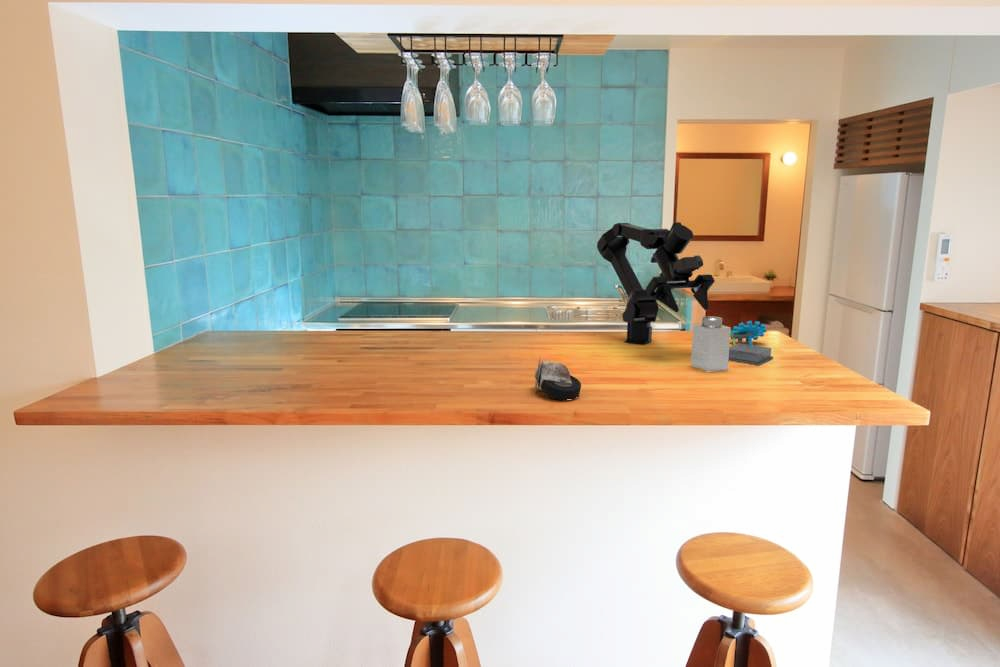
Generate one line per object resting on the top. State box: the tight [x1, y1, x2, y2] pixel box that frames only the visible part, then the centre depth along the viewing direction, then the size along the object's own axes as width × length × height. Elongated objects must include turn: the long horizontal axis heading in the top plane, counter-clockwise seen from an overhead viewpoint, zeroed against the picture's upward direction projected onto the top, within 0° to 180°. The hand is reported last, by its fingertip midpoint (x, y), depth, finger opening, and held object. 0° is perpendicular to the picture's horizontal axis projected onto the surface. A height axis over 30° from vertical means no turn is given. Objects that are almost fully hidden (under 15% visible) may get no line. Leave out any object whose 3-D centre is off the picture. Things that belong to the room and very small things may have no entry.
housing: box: [690, 315, 732, 372], centre depth 163 cm, size 7×6×13 cm
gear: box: [730, 320, 767, 345], centre depth 190 cm, size 11×6×10 cm
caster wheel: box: [534, 355, 582, 401], centre depth 142 cm, size 7×11×10 cm
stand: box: [728, 342, 774, 366], centre depth 173 cm, size 10×10×3 cm
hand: (692, 310), depth 169 cm, fingers open, 9 cm apart
